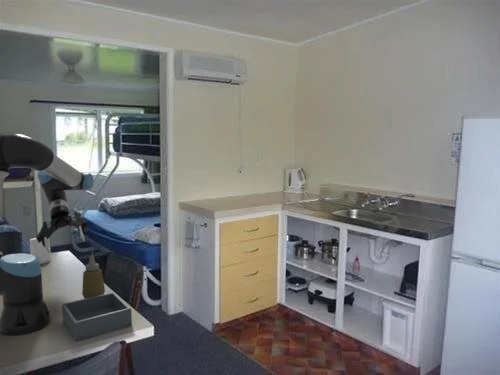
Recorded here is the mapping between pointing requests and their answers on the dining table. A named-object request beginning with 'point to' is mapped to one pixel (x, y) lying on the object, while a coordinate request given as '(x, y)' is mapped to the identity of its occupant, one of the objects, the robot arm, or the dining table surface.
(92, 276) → the squeeze bottle
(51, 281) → the dining table surface
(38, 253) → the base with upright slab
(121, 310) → the box
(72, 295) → the dining table surface
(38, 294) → the robot arm
